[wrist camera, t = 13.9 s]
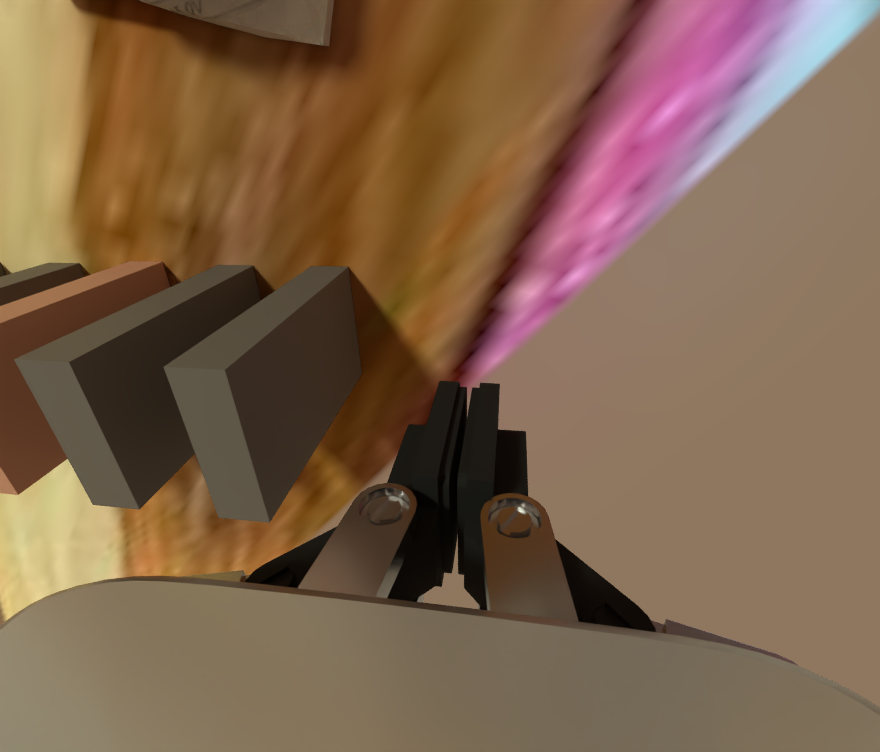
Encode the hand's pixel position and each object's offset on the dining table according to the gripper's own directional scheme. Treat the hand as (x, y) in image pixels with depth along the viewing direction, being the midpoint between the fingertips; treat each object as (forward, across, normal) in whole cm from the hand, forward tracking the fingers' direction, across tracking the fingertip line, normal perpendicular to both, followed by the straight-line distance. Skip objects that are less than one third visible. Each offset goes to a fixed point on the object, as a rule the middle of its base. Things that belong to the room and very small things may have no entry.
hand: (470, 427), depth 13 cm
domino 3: (+7, +6, 0) cm, 9 cm away
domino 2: (+7, +11, 0) cm, 13 cm away
